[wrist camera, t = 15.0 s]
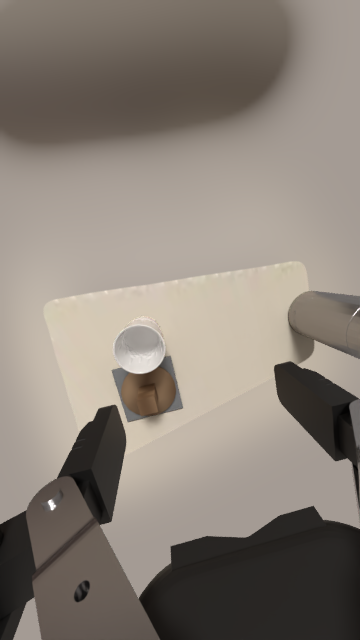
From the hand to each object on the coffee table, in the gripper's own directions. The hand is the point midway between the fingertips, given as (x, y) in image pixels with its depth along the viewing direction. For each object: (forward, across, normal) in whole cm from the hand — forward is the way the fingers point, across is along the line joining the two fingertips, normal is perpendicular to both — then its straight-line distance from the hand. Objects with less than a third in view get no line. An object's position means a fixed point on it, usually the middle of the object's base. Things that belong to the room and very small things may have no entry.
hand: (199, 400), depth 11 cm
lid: (+32, +8, +16) cm, 36 cm away
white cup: (+32, +6, +4) cm, 33 cm away
